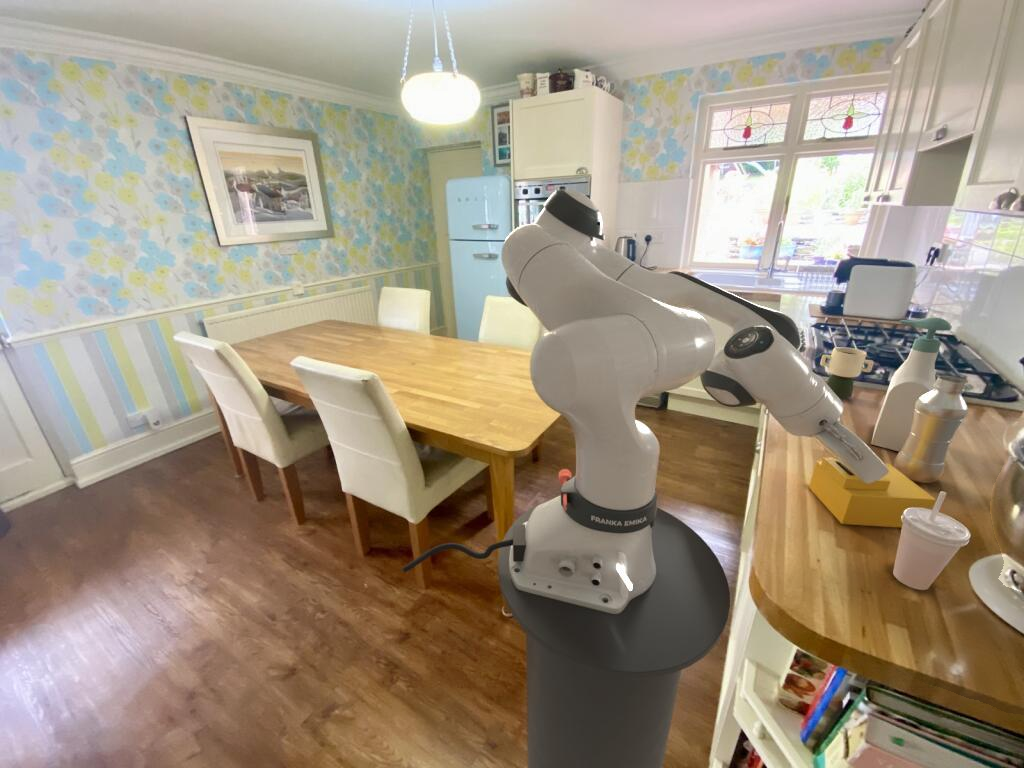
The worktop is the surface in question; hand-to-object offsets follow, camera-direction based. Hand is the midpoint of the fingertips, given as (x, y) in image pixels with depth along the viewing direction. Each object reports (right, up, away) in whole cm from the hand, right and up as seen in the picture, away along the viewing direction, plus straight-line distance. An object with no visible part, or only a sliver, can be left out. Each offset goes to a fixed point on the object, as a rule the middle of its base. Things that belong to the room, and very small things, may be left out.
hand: (855, 463), depth 69 cm
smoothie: (-2, -14, -11) cm, 18 cm away
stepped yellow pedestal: (+3, -8, +3) cm, 9 cm away
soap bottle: (+26, +1, +23) cm, 35 cm away
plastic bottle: (+19, -5, +10) cm, 22 cm away
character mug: (+32, +10, +45) cm, 56 cm away
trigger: (0, -3, +1) cm, 3 cm away
